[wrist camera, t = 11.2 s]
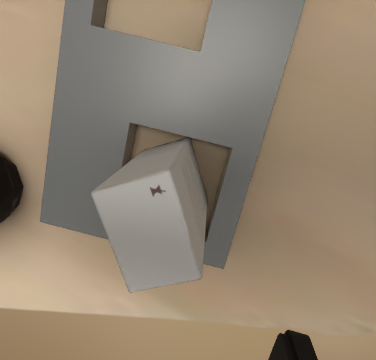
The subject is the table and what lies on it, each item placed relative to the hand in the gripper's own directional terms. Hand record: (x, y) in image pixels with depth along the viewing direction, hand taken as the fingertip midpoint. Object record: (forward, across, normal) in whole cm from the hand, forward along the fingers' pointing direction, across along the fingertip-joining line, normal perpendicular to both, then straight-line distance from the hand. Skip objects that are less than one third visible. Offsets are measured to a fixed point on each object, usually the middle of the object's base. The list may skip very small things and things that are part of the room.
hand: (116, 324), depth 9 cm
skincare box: (+18, +1, 0) cm, 18 cm away
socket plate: (+18, +3, -7) cm, 20 cm away
